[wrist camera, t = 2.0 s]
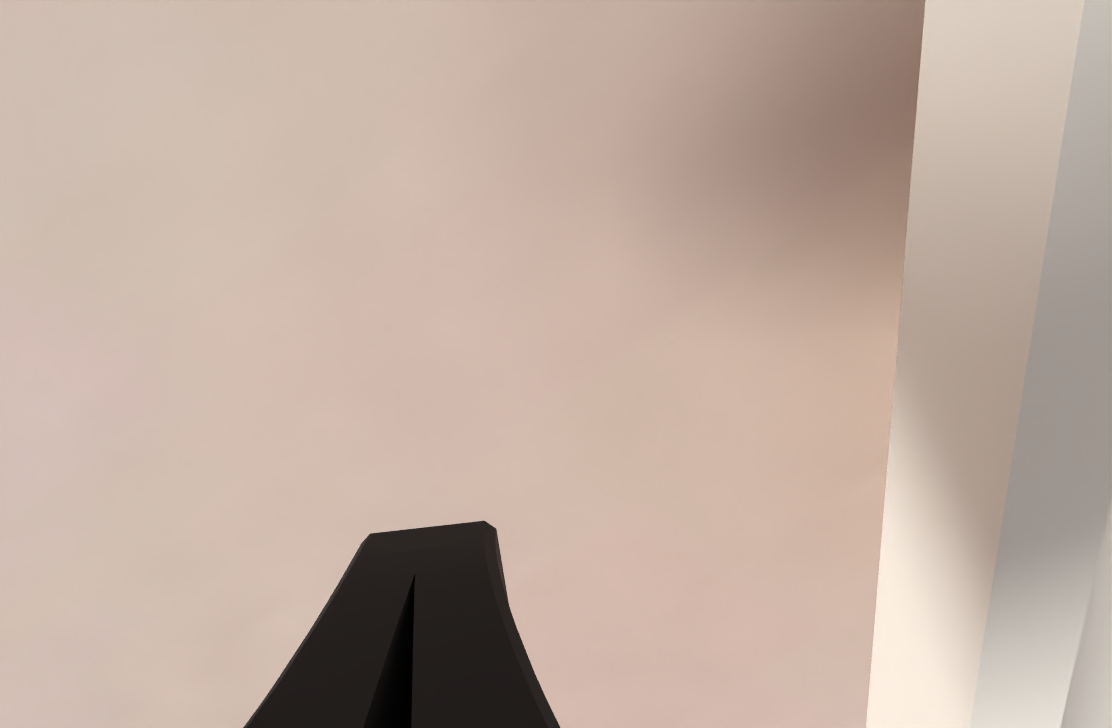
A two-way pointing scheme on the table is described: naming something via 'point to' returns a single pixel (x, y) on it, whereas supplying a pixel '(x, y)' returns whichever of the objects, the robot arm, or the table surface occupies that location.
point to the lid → (1003, 380)
